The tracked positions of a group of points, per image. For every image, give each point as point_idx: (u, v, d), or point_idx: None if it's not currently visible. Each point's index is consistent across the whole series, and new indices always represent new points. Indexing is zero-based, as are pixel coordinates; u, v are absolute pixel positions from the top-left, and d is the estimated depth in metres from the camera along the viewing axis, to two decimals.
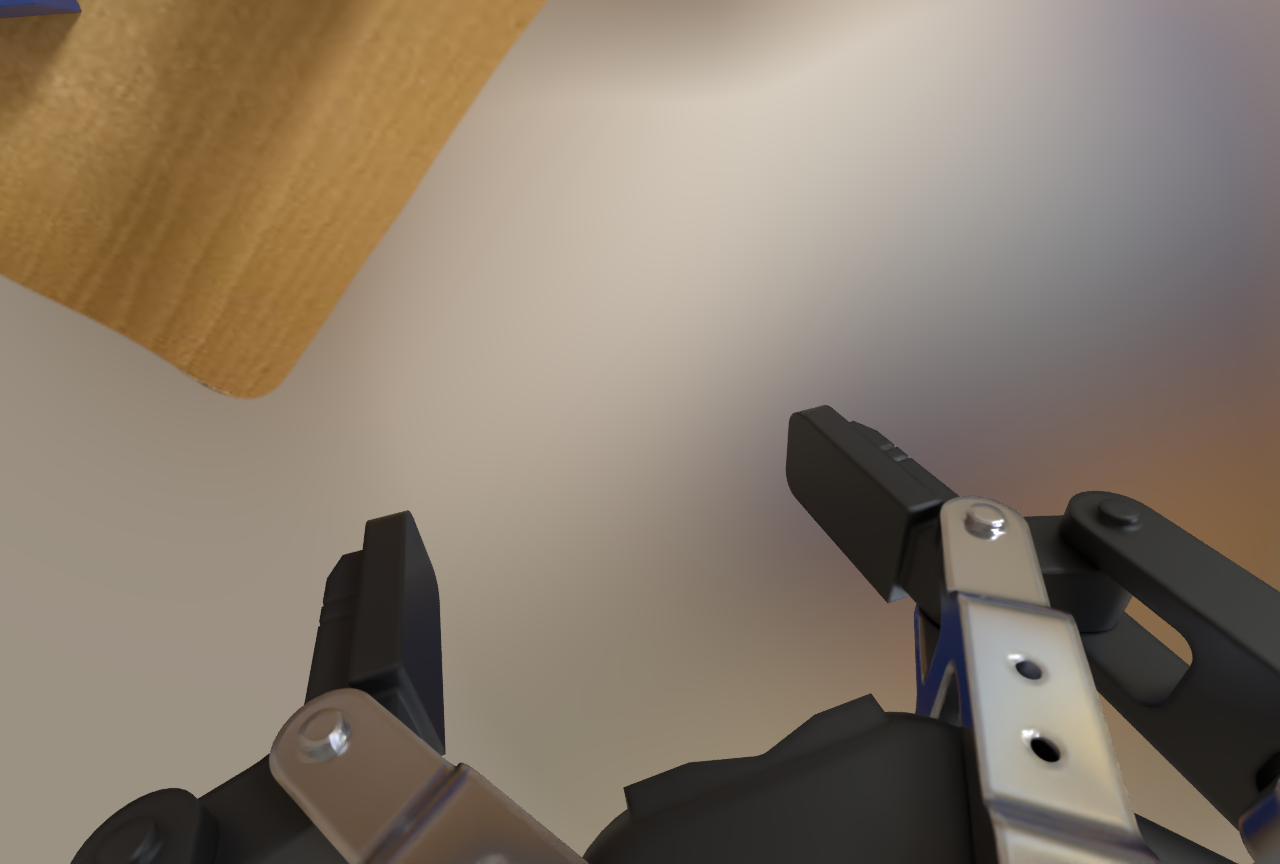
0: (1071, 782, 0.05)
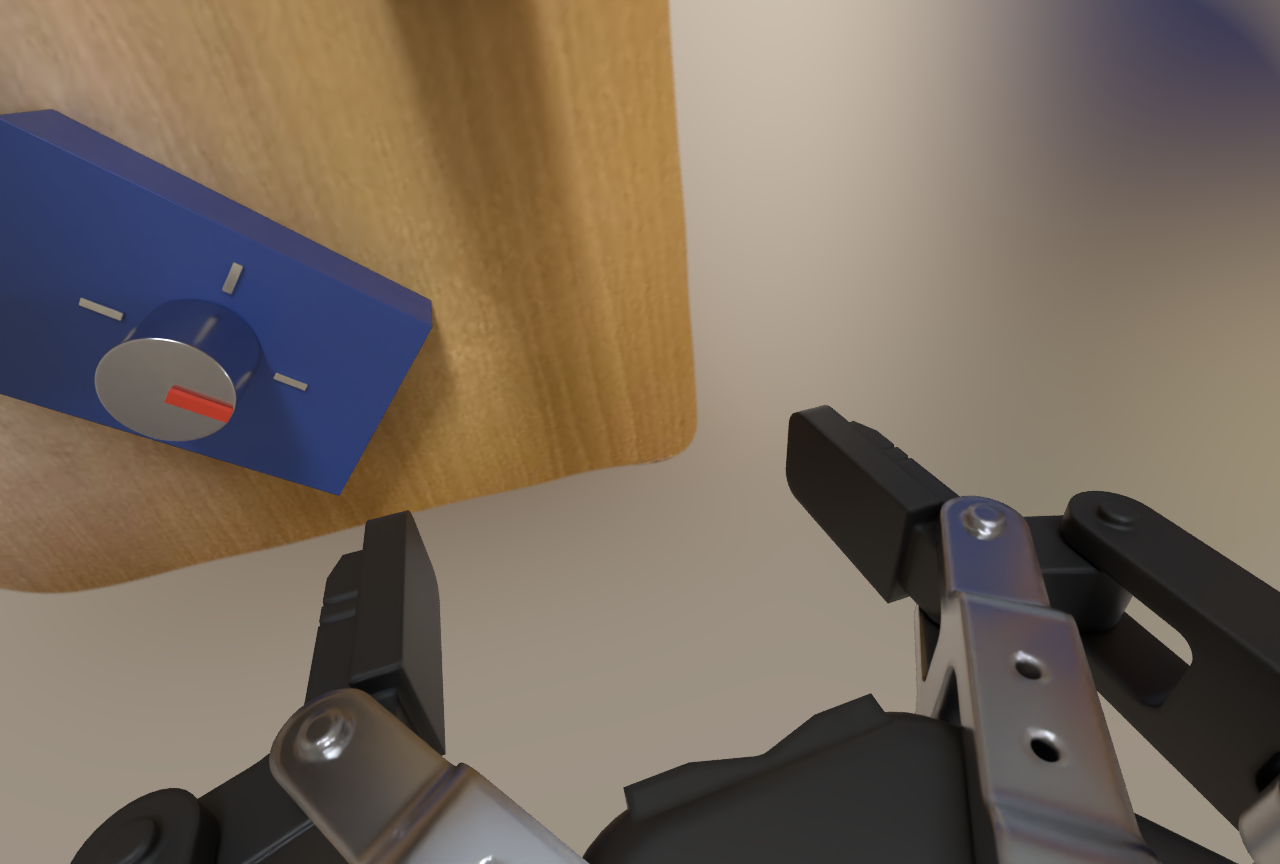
0: (1070, 782, 0.05)
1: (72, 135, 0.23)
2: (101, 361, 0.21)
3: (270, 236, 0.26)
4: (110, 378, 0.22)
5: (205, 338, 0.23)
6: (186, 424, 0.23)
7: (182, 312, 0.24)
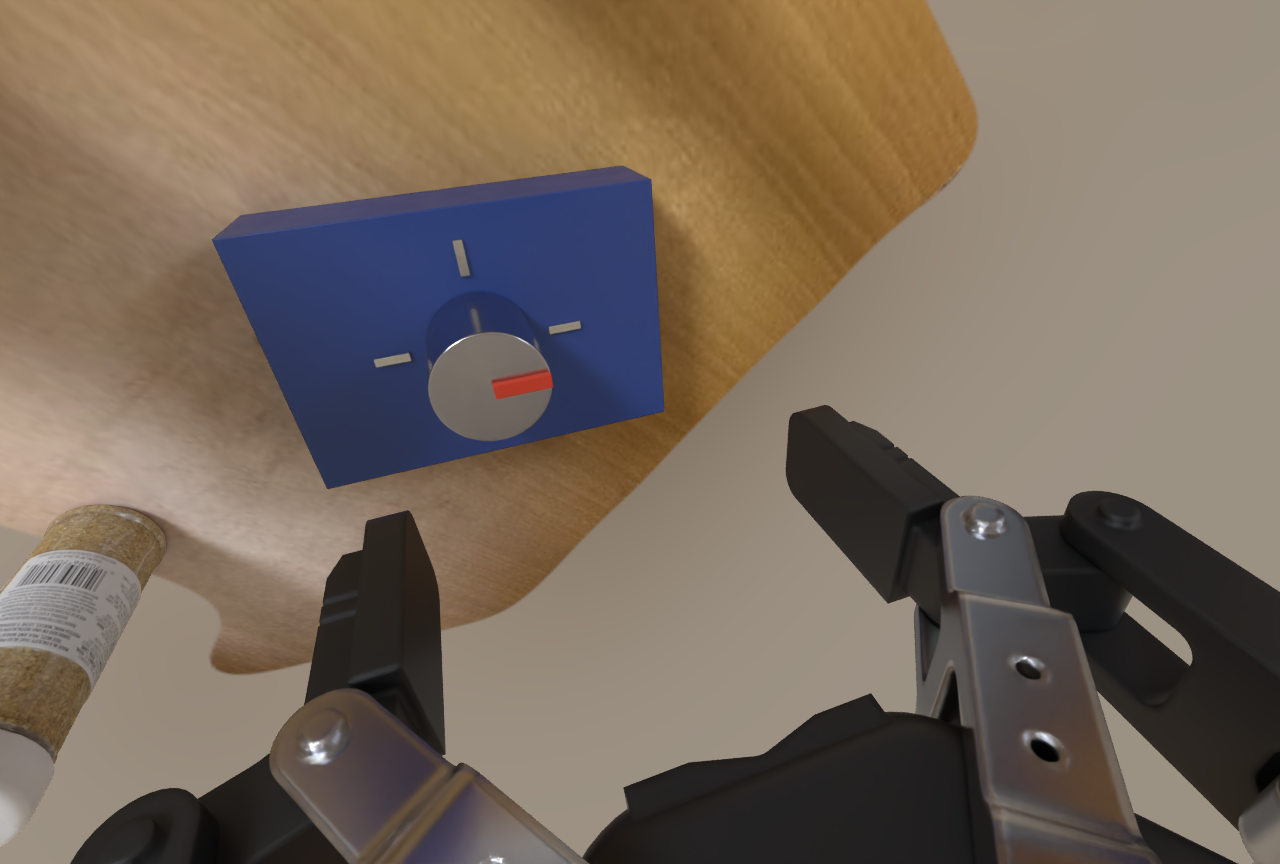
0: (1071, 782, 0.05)
1: (268, 221, 0.22)
2: (429, 393, 0.21)
3: (460, 197, 0.23)
4: (445, 404, 0.21)
5: (485, 321, 0.21)
6: (523, 410, 0.22)
7: (450, 315, 0.22)
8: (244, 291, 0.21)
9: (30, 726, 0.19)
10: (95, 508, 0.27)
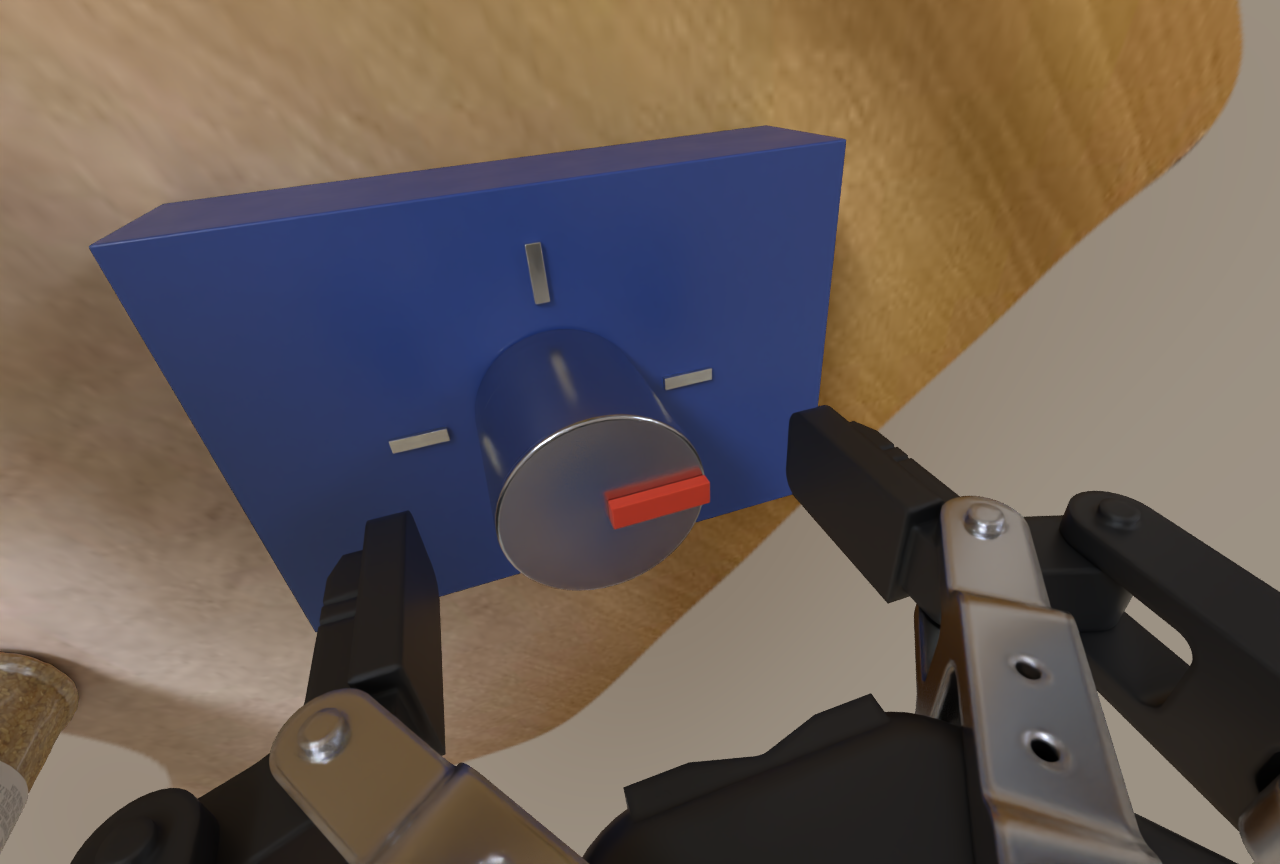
0: (1071, 782, 0.05)
1: (203, 212, 0.13)
2: (498, 526, 0.11)
3: (532, 170, 0.14)
4: (524, 542, 0.12)
5: (595, 390, 0.12)
6: (653, 538, 0.13)
7: (523, 373, 0.13)
8: (158, 338, 0.12)
9: None
10: None
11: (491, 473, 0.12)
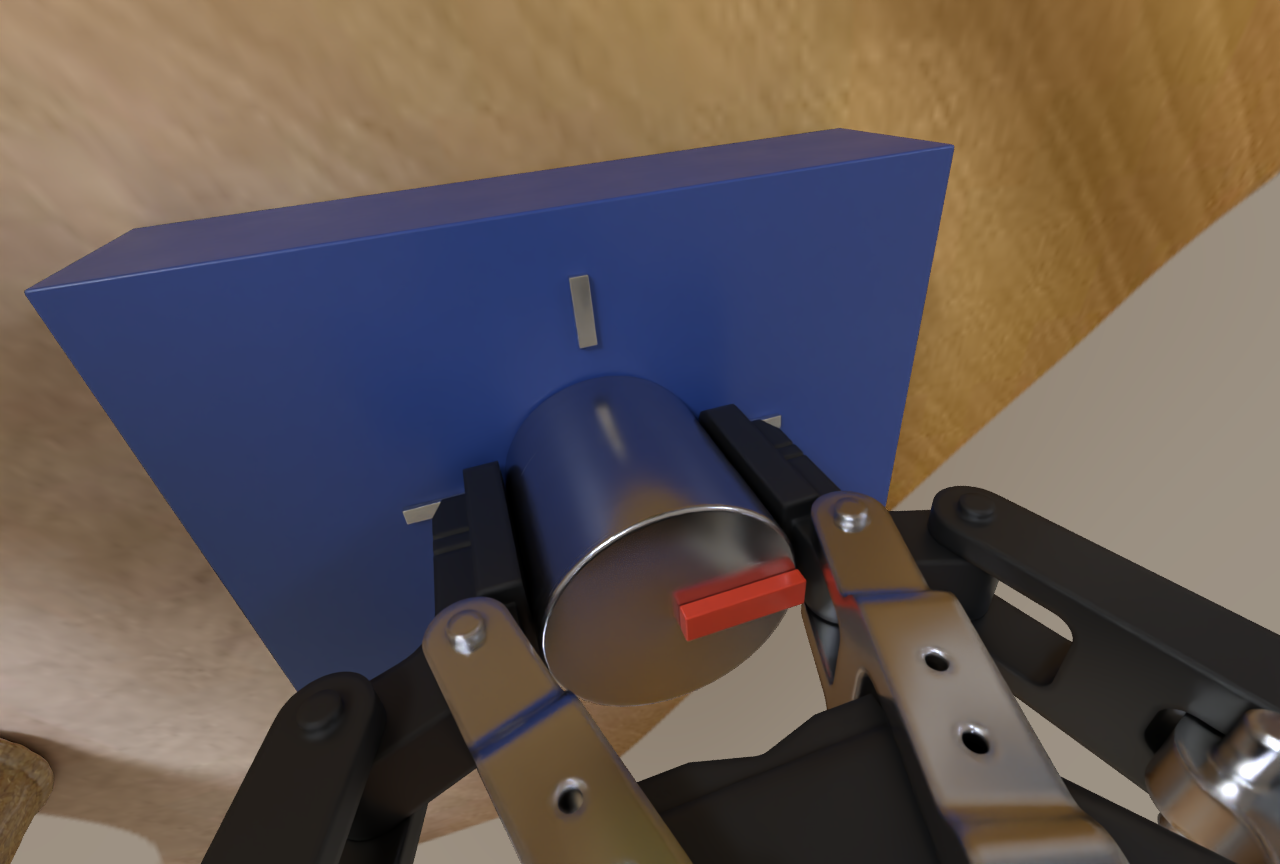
0: (1007, 769, 0.06)
1: (177, 241, 0.10)
2: (543, 644, 0.09)
3: (575, 186, 0.11)
4: (575, 659, 0.09)
5: (664, 467, 0.09)
6: (729, 643, 0.10)
7: (568, 438, 0.10)
8: (119, 401, 0.10)
9: None
10: None
11: (532, 570, 0.09)
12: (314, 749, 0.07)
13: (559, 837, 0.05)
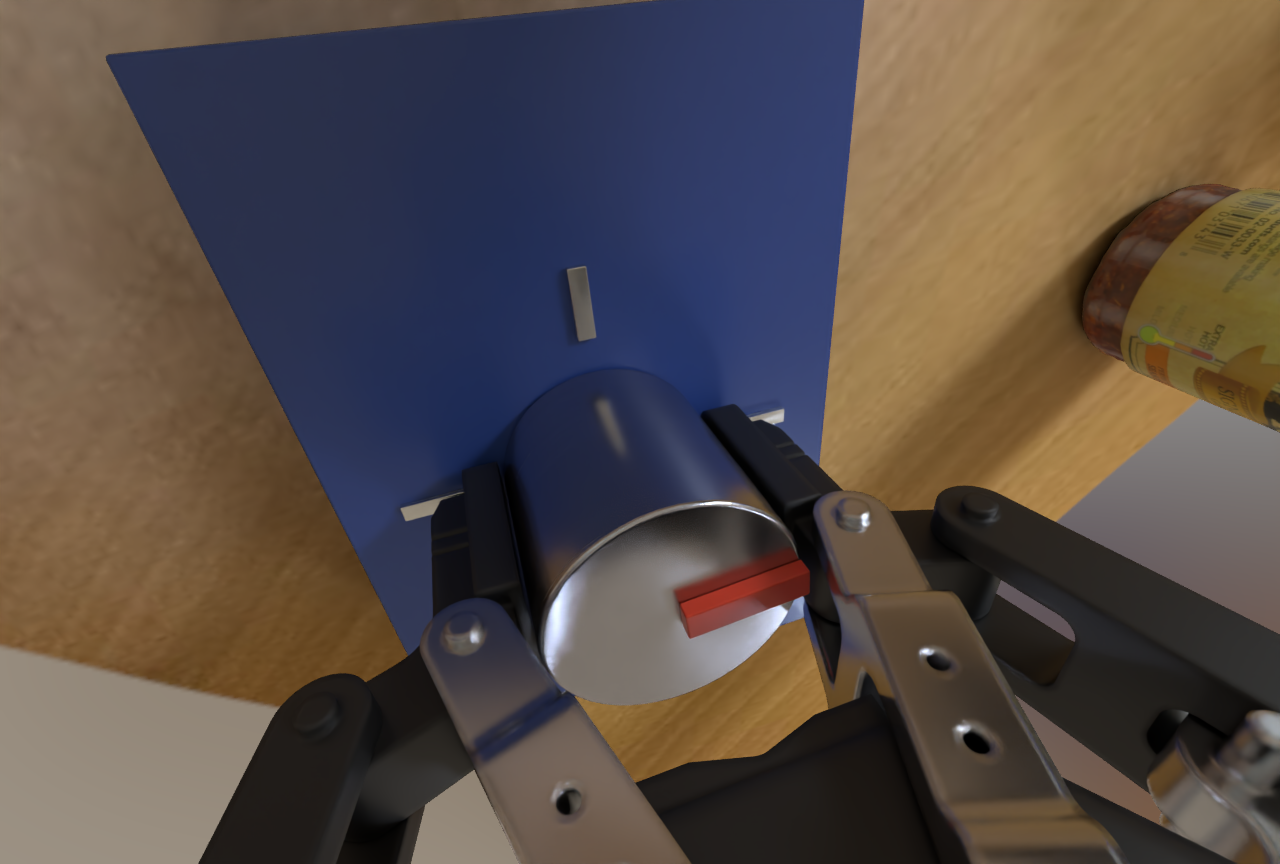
0: (1007, 769, 0.06)
1: None
2: (542, 649, 0.09)
3: None
4: (576, 662, 0.09)
5: (655, 464, 0.09)
6: (736, 637, 0.10)
7: (559, 437, 0.10)
8: (760, 11, 0.09)
9: None
10: None
11: (528, 575, 0.09)
12: (309, 750, 0.07)
13: (558, 838, 0.05)
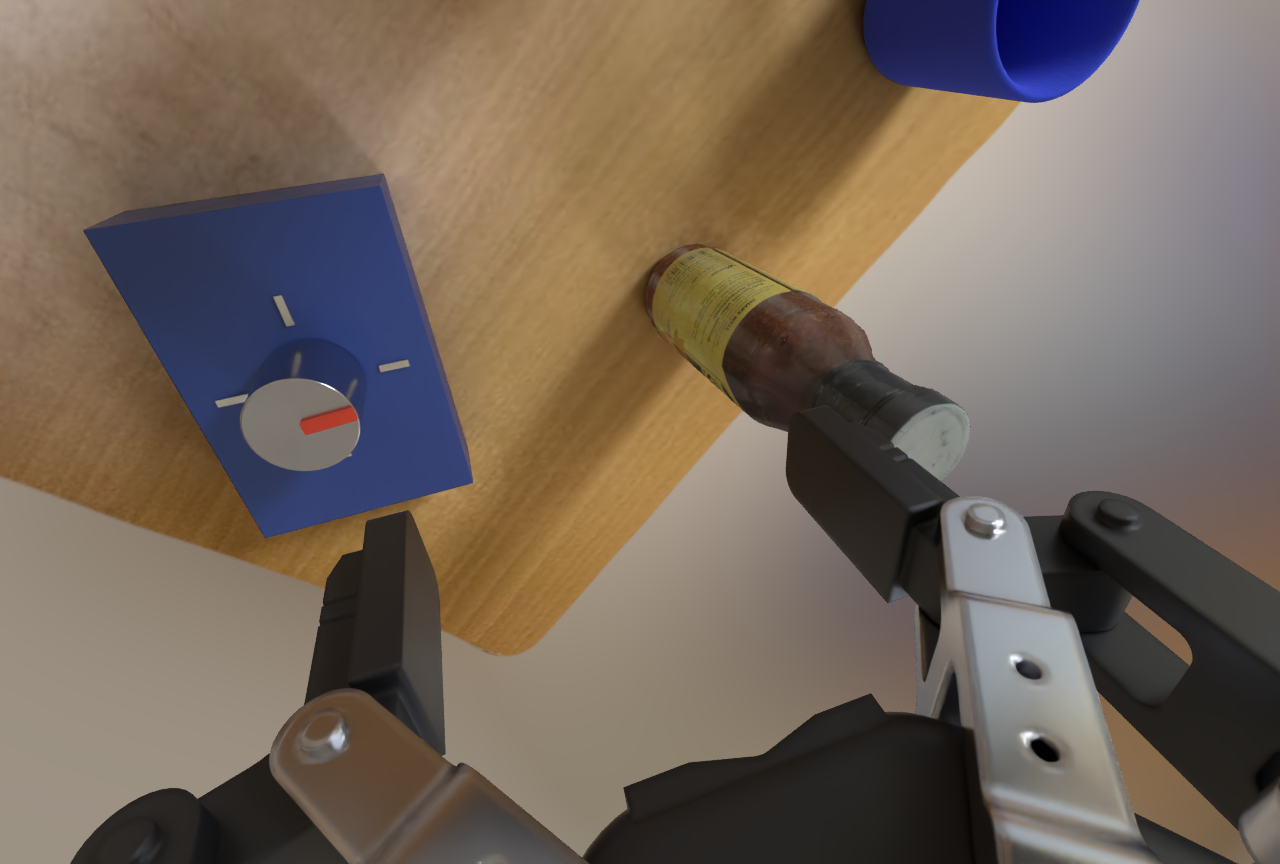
0: (1071, 782, 0.05)
1: (392, 212, 0.27)
2: (243, 435, 0.24)
3: (435, 353, 0.31)
4: (261, 443, 0.24)
5: (288, 368, 0.24)
6: (336, 441, 0.25)
7: (268, 364, 0.25)
8: (335, 199, 0.25)
9: None
10: None
11: None
12: None
13: None
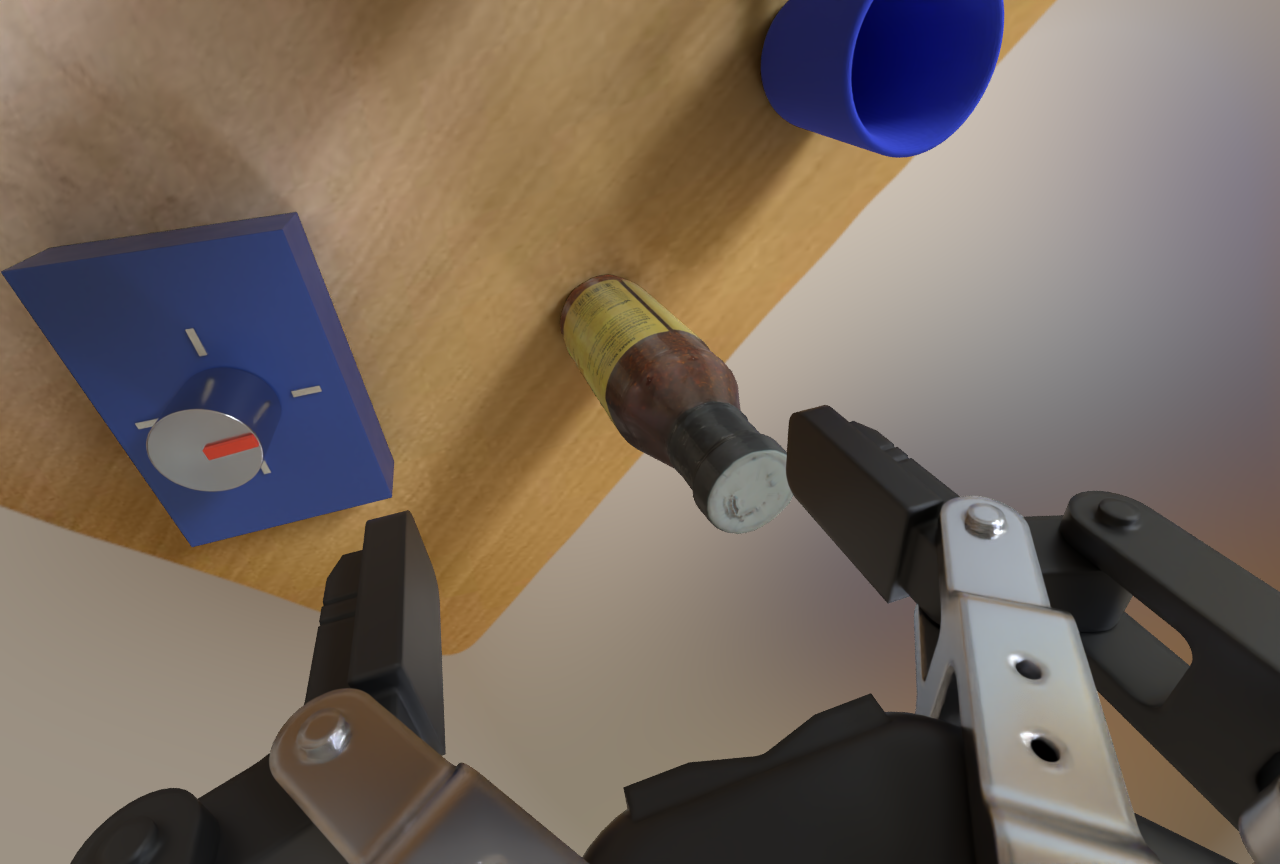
0: (1071, 782, 0.05)
1: (301, 249, 0.29)
2: (150, 460, 0.26)
3: (351, 378, 0.33)
4: (168, 467, 0.26)
5: (193, 399, 0.26)
6: (241, 465, 0.27)
7: (179, 392, 0.27)
8: (239, 242, 0.27)
9: None
10: None
11: None
12: None
13: None
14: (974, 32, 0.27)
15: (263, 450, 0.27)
